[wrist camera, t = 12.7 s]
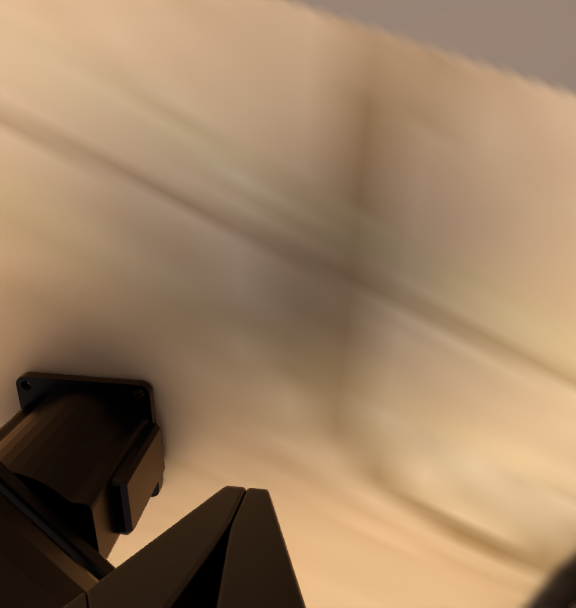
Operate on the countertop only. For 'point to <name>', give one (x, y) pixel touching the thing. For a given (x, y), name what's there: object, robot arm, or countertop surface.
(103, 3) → the countertop surface
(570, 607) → the casserole
